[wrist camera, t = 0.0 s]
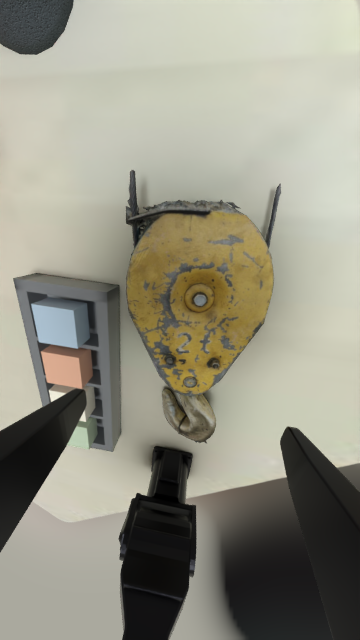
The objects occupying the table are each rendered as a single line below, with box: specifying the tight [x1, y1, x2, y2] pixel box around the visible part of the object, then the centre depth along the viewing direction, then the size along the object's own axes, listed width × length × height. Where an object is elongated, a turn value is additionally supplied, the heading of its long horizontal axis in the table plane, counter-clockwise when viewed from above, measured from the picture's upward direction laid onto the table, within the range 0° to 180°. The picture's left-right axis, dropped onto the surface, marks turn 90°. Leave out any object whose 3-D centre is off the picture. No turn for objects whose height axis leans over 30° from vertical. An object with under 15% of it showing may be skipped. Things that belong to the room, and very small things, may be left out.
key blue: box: [31, 297, 90, 349], centre depth 21 cm, size 4×4×2 cm
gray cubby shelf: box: [13, 273, 121, 452], centre depth 26 cm, size 25×10×3 cm, turn 173°
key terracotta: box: [41, 344, 93, 389], centre depth 23 cm, size 4×4×2 cm
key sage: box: [67, 417, 98, 449], centre depth 28 cm, size 4×4×2 cm
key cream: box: [49, 384, 95, 422], centre depth 26 cm, size 4×4×2 cm
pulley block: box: [126, 170, 281, 443], centre depth 21 cm, size 14×6×30 cm
